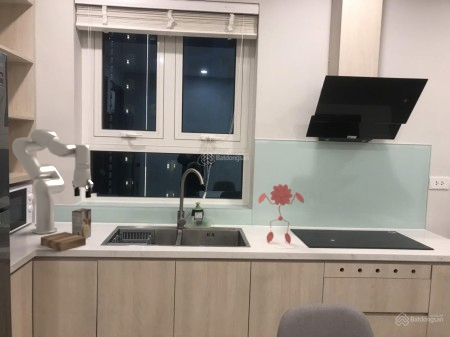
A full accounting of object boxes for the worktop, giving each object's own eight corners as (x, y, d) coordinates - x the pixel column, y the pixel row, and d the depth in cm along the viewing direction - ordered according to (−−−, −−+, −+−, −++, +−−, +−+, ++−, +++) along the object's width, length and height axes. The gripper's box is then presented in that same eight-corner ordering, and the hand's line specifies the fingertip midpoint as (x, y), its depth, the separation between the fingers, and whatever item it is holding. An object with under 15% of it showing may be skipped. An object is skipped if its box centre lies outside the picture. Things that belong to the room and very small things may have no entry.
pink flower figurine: (256, 239, 206) (259, 181, 202) (299, 242, 203) (303, 183, 200) (256, 247, 190) (259, 185, 187) (303, 250, 188) (307, 187, 185)
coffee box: (81, 235, 201) (81, 208, 200) (91, 236, 200) (91, 208, 199) (71, 239, 192) (71, 210, 191) (81, 240, 191) (82, 211, 190)
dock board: (40, 244, 180) (40, 237, 180) (65, 238, 192) (65, 231, 192) (61, 251, 171) (61, 243, 171) (85, 244, 183) (85, 237, 183)
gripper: (66, 166, 194) (67, 196, 195) (86, 167, 185) (86, 199, 186) (78, 165, 201) (78, 194, 202) (98, 167, 192) (98, 197, 193)
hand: (82, 196), depth 194 cm, fingers open, 9 cm apart
